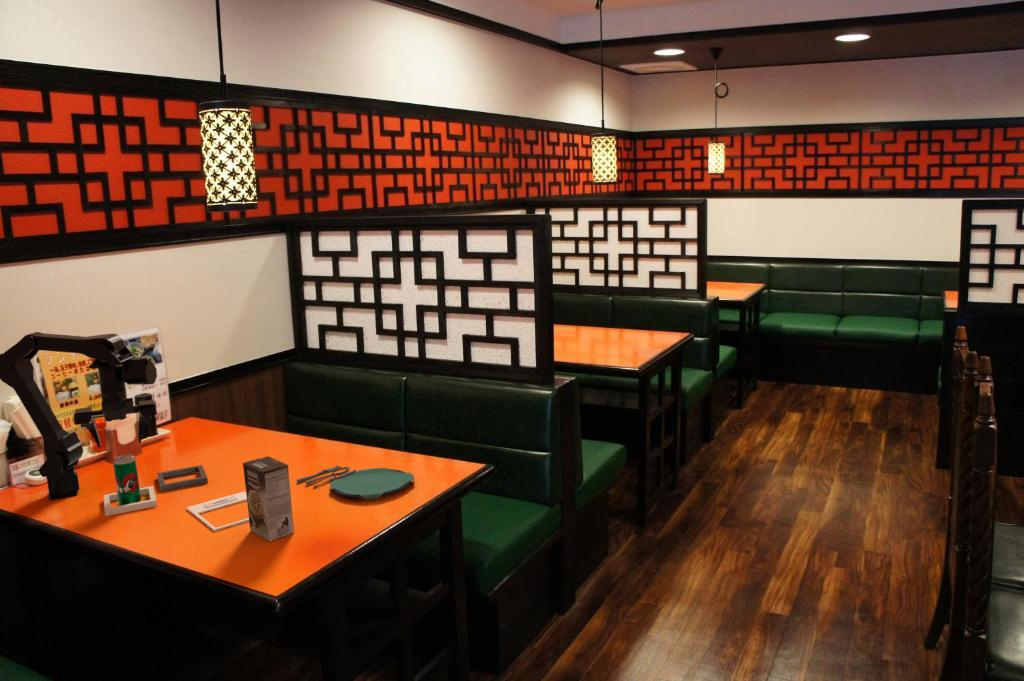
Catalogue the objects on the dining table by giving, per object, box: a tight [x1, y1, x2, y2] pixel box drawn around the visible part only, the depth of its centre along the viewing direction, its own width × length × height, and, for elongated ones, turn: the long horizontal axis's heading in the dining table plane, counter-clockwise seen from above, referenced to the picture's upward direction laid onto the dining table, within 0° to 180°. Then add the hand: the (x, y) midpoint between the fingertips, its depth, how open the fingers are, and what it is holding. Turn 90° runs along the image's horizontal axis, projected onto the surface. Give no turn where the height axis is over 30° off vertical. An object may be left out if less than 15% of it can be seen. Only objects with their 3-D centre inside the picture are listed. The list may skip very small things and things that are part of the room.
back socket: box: [156, 464, 209, 493], centre depth 218 cm, size 11×11×2 cm
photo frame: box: [185, 490, 249, 532], centre depth 196 cm, size 15×1×18 cm
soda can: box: [112, 453, 142, 506], centre depth 203 cm, size 5×5×12 cm
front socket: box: [103, 485, 158, 517], centre depth 204 cm, size 11×11×2 cm
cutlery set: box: [296, 465, 415, 501], centre depth 211 cm, size 20×30×2 cm, turn 54°
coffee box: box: [242, 456, 295, 542], centre depth 182 cm, size 9×6×16 cm
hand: (119, 444), depth 209 cm, fingers open, 9 cm apart
